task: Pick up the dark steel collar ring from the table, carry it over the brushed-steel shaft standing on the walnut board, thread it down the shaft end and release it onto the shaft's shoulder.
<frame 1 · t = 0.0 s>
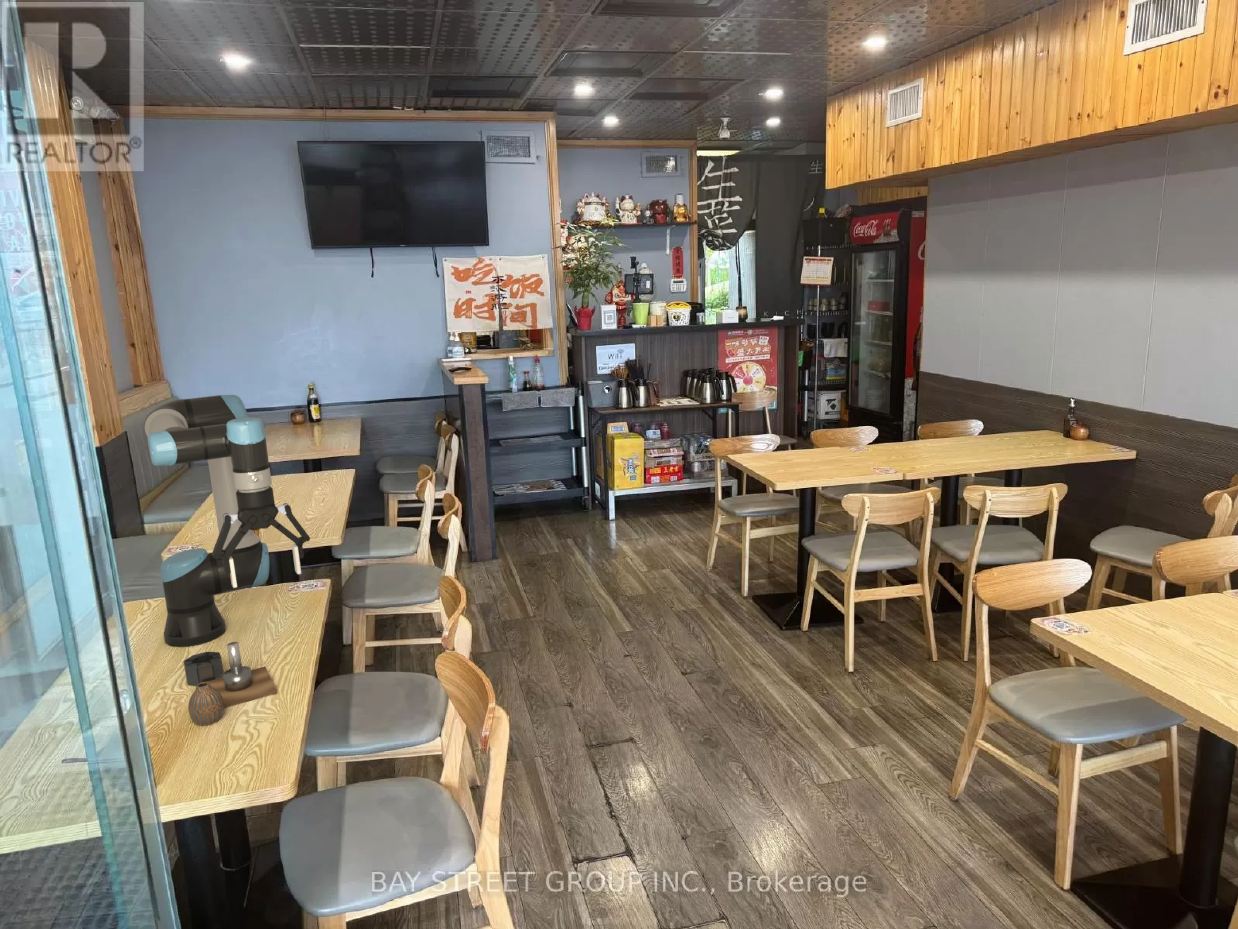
hand: (266, 579, 188), 28 cm above the table, fingers open, 13 cm apart
vase: (208, 721, 183), on the table
ring: (205, 678, 203), on the table
base board: (239, 690, 196), on the table
shaft: (235, 665, 195), on the base board, point 6 cm above the table
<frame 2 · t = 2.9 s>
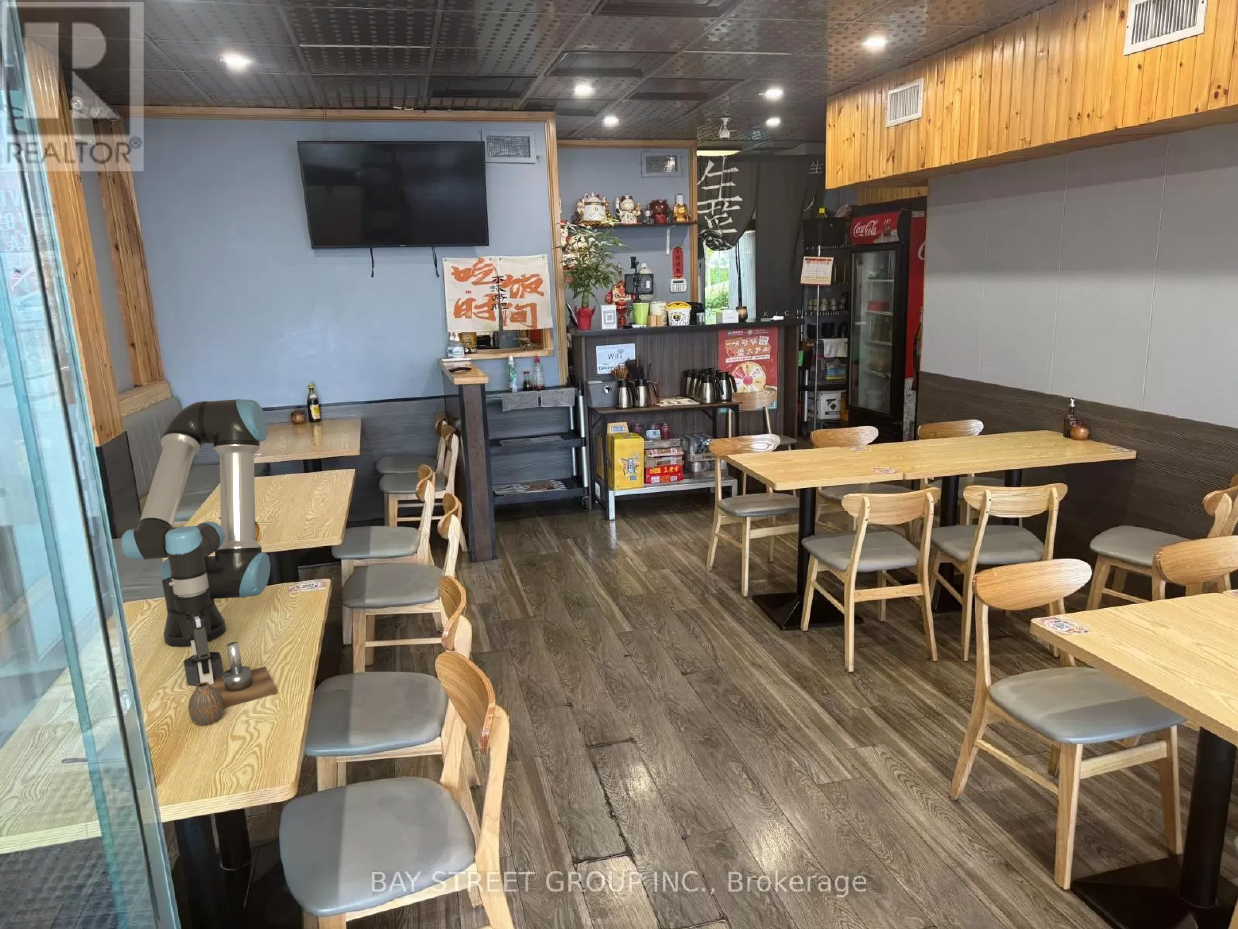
hand: (204, 674, 202), 1 cm above the table, fingers open, 13 cm apart
nothing on the table moved.
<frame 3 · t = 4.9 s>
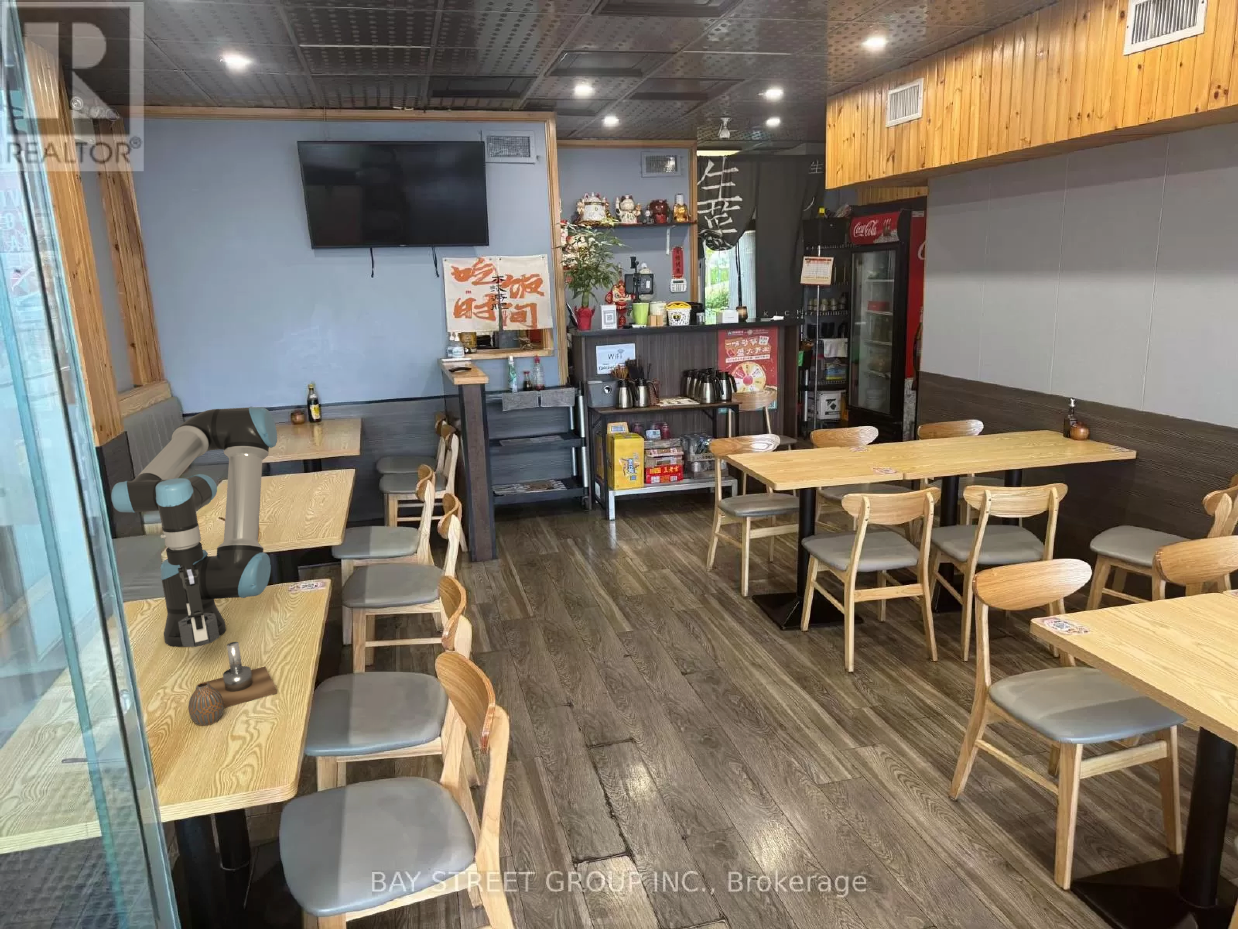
hand: (199, 633, 201), 11 cm above the table, fingers closed on ring, 8 cm apart
ring: (200, 639, 202), point 10 cm above the table, touching gripper
everything else where it was.
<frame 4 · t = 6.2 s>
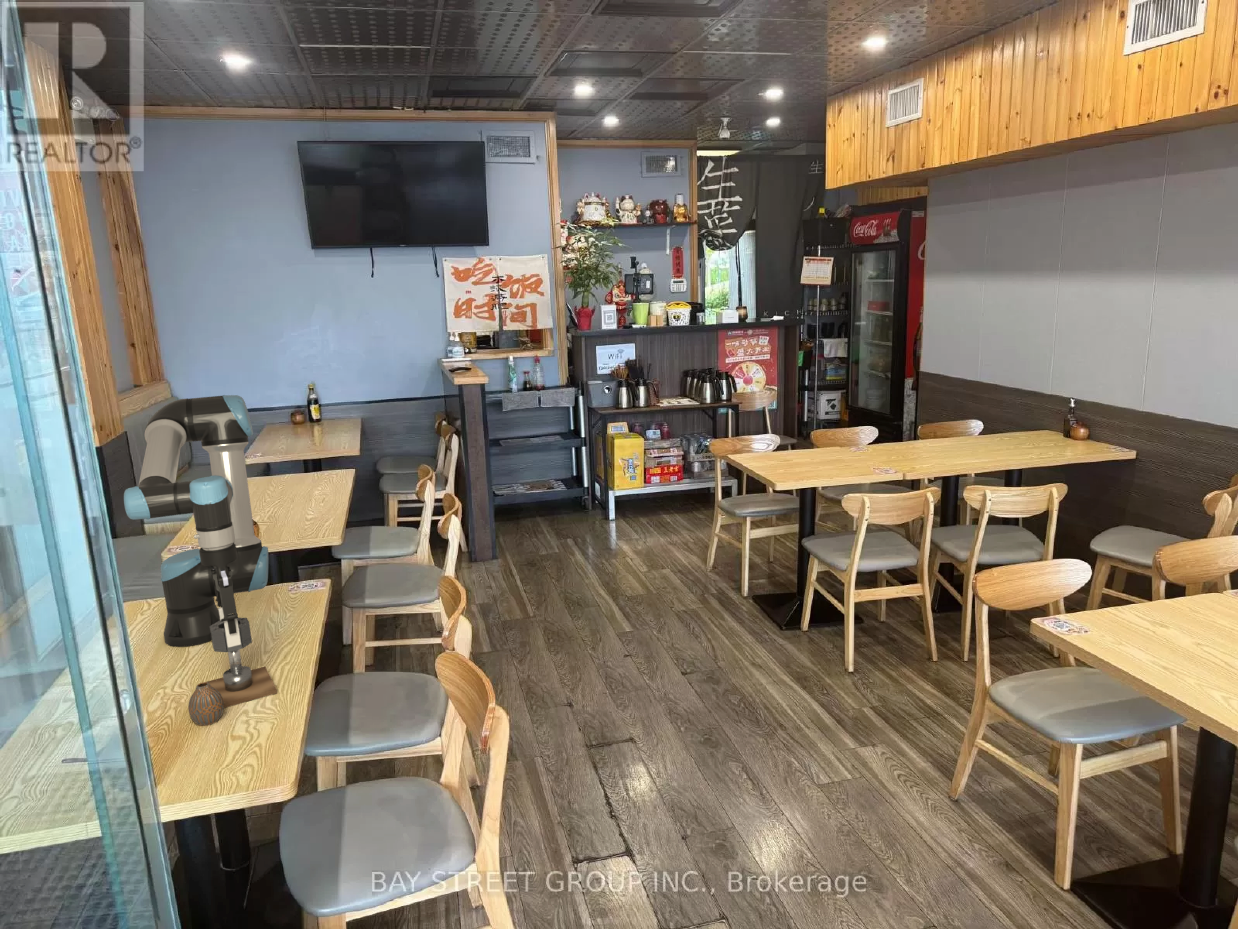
hand: (231, 639, 193), 13 cm above the table, fingers closed on ring, 8 cm apart
ring: (232, 644, 193), point 12 cm above the table, touching gripper
everything else where it was.
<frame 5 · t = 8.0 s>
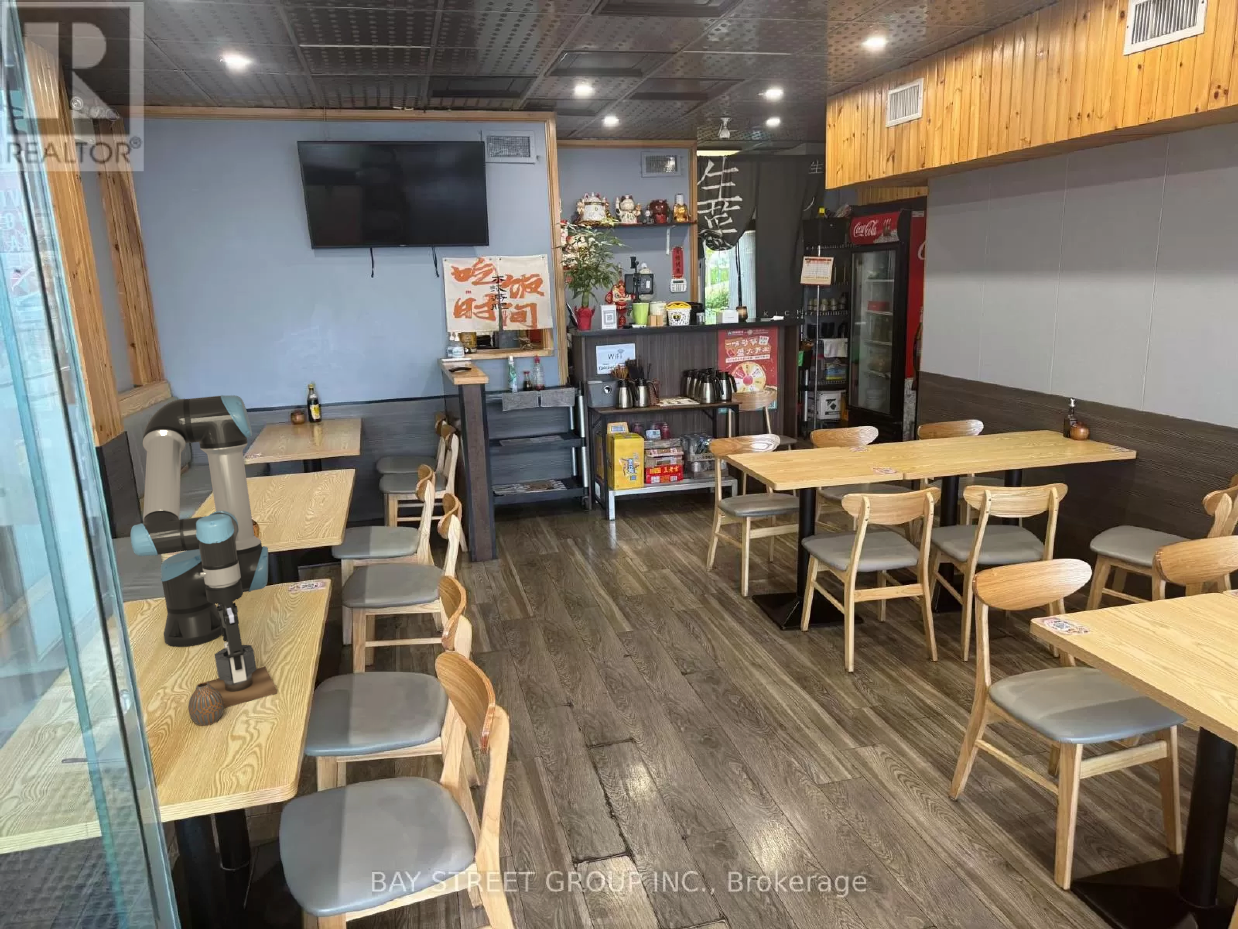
hand: (237, 673, 195), 4 cm above the table, fingers closed on ring, 8 cm apart
ring: (237, 672, 195), point 5 cm above the table, touching gripper, shaft
everything else where it was.
when the fingers open (4 cm above the table, at t = 8.8 s): ring stays where it is, resting on shaft.
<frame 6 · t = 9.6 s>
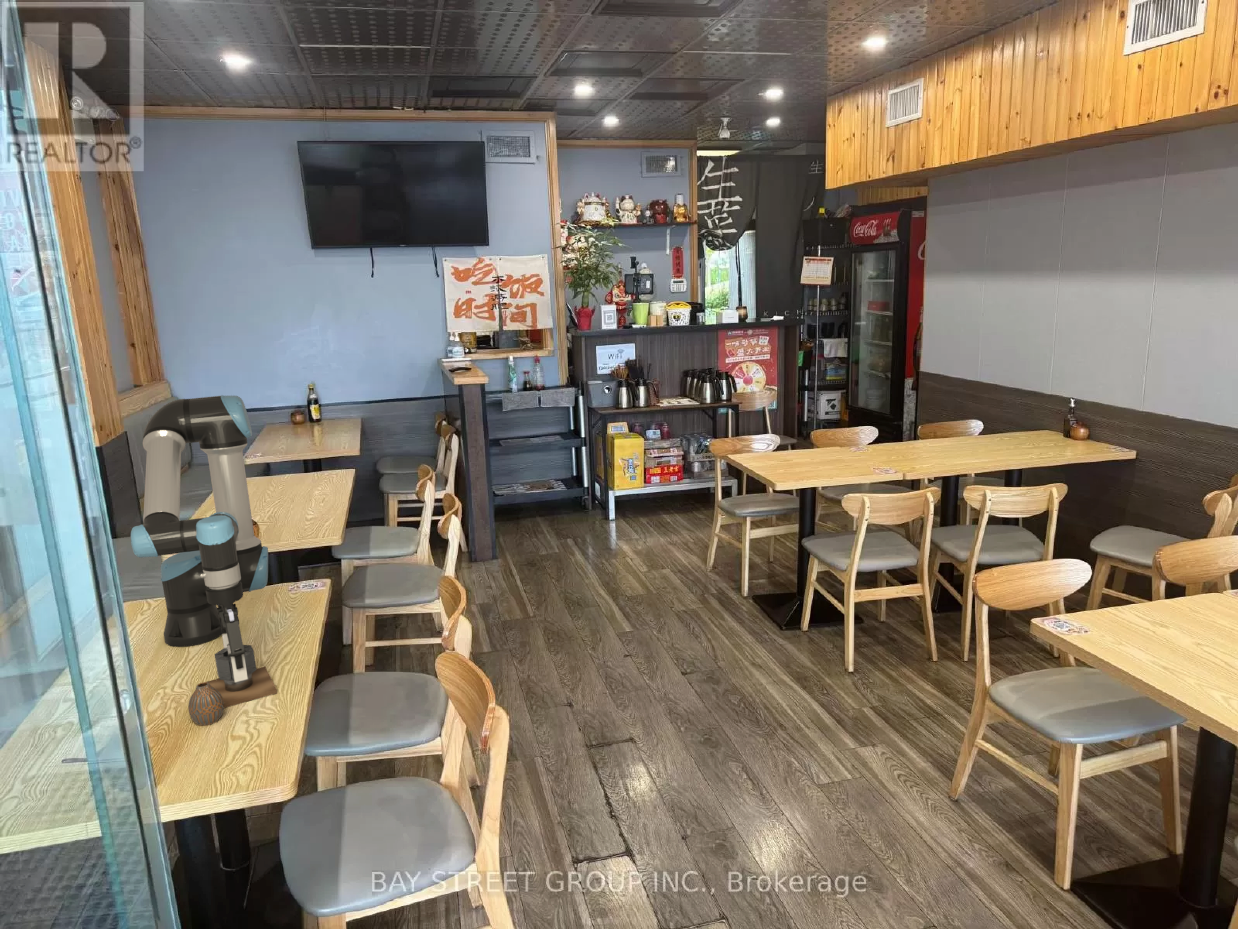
hand: (236, 669, 195), 5 cm above the table, fingers open, 13 cm apart
ring: (237, 672, 195), point 5 cm above the table, touching shaft
everything else where it was.
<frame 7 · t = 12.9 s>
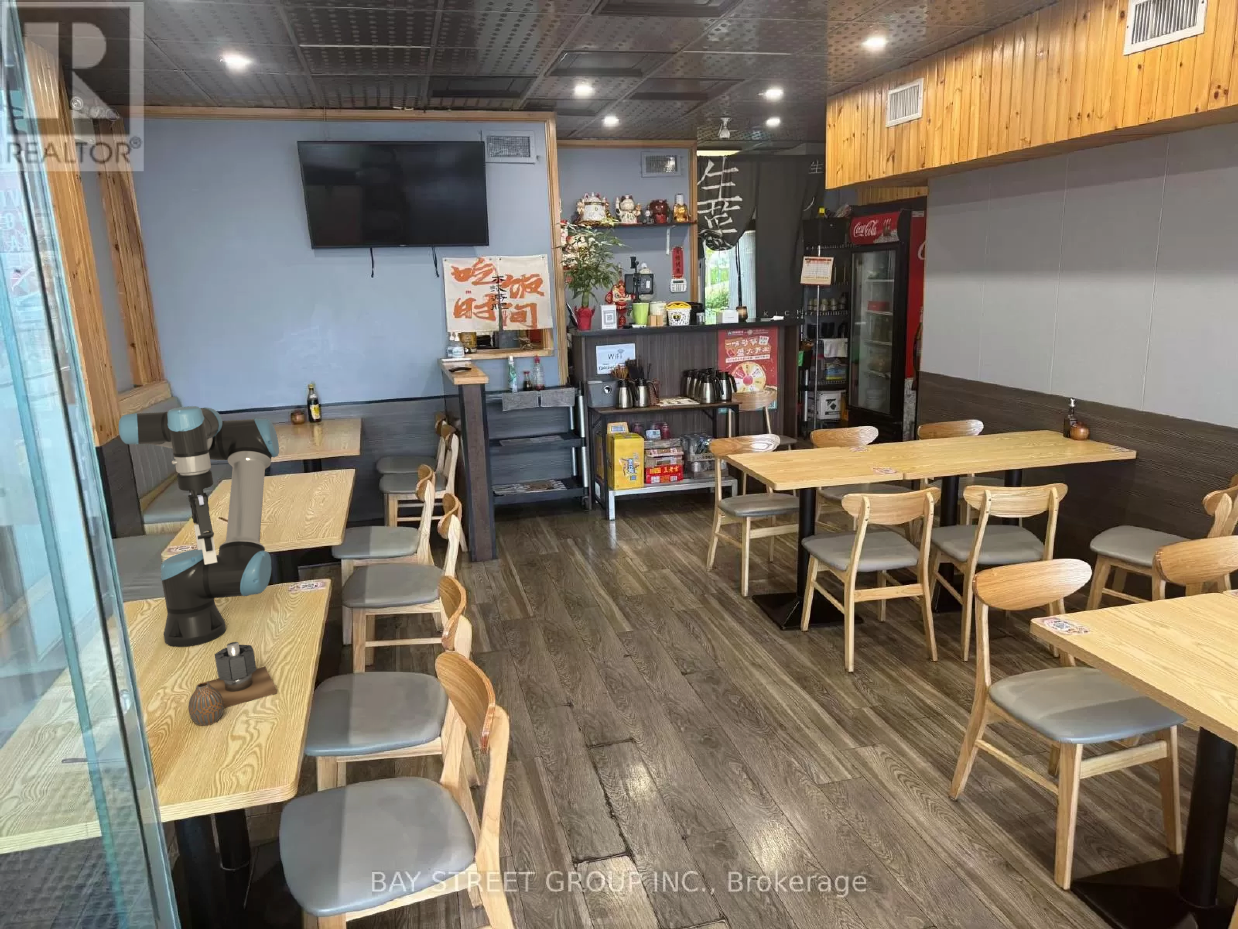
hand: (207, 555, 204), 29 cm above the table, fingers open, 13 cm apart
nothing on the table moved.
at the end: ring 0.1 cm off-centre on the shaft, point 4.7 cm above the shaft's base; the gripper is holding nothing; ring tilted 0° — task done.
